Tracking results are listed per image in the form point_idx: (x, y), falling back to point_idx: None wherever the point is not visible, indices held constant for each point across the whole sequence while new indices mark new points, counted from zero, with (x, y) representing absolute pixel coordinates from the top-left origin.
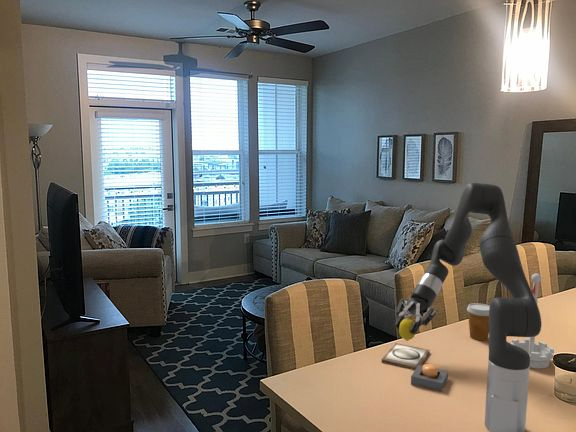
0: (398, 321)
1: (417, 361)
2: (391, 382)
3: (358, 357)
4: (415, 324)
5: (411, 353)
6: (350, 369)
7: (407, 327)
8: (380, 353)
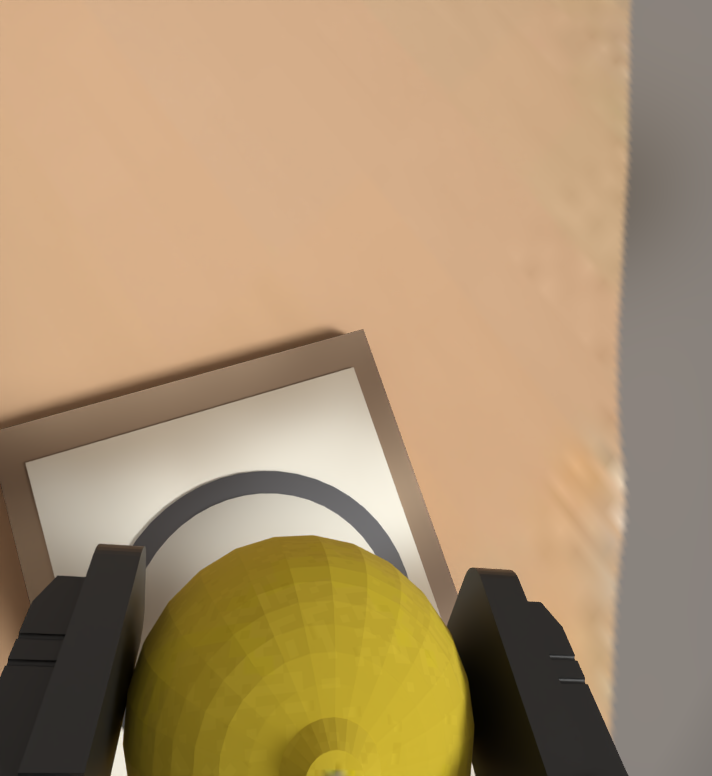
0: (512, 650)
1: (63, 552)
2: (61, 74)
3: (543, 279)
4: (38, 725)
5: None
6: (430, 65)
7: (217, 580)
8: (486, 495)
